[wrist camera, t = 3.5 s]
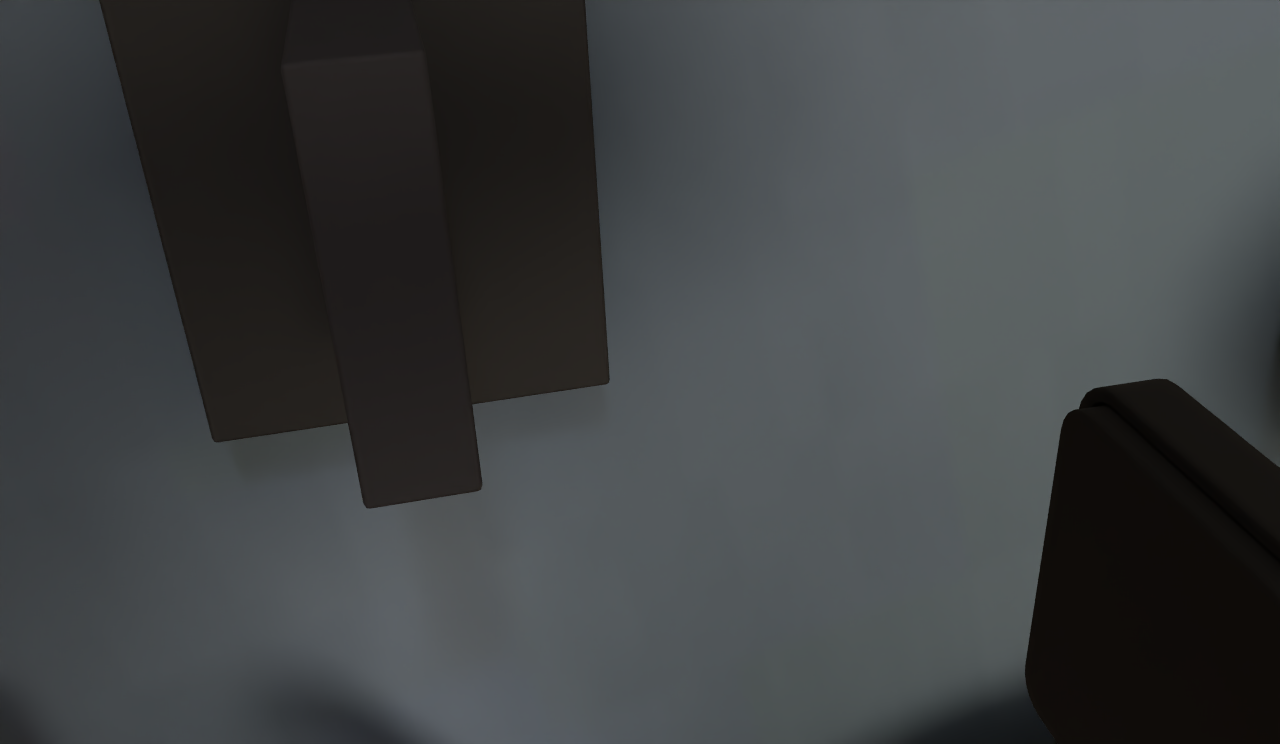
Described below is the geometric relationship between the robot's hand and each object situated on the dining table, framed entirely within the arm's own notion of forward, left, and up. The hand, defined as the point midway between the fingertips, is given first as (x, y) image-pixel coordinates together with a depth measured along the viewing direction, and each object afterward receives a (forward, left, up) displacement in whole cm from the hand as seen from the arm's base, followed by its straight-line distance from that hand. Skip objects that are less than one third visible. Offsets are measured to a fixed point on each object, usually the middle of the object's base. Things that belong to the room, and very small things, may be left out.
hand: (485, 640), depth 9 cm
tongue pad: (0, +1, -13) cm, 13 cm away
